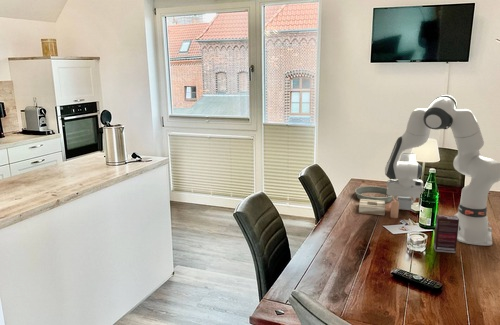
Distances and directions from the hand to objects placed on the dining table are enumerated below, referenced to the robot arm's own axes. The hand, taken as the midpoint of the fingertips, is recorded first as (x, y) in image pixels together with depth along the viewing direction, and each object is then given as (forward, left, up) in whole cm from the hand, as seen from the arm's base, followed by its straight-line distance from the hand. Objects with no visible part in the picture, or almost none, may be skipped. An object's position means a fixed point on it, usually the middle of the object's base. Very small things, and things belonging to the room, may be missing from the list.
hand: (404, 203), depth 224 cm
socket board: (-4, +18, -4) cm, 18 cm away
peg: (-12, +6, -4) cm, 14 cm away
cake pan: (+20, +17, -5) cm, 27 cm away
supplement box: (-49, -14, -5) cm, 51 cm away
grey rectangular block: (0, 0, -2) cm, 2 cm away
